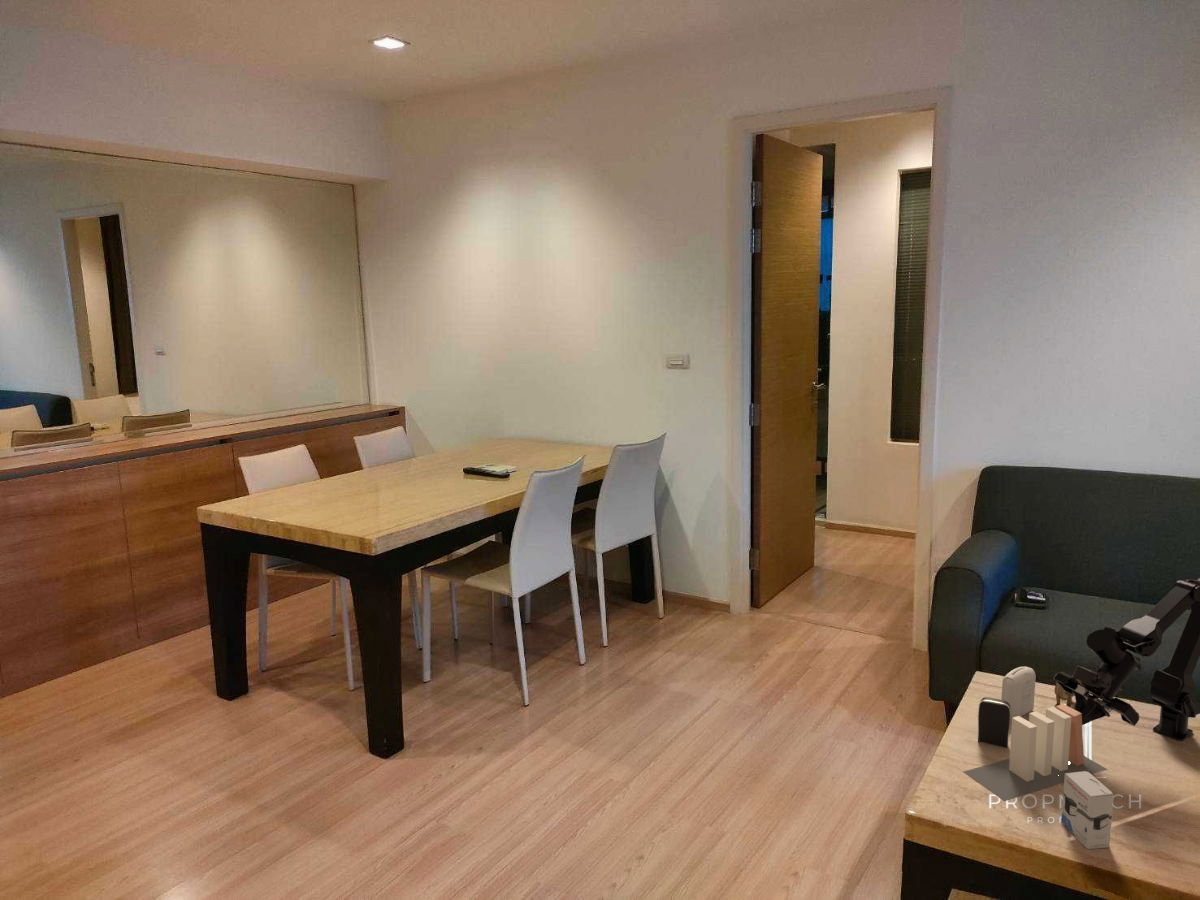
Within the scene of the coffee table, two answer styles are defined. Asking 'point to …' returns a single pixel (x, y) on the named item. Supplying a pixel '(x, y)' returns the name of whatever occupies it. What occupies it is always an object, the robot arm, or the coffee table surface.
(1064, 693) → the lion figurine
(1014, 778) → the domino mat
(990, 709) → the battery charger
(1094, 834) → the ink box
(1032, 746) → the ivory domino
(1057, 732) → the ivory domino
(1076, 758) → the terracotta domino
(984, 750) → the coffee table surface
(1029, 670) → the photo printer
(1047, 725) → the ivory domino
